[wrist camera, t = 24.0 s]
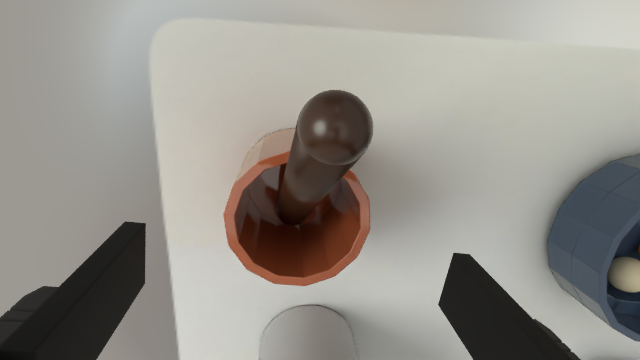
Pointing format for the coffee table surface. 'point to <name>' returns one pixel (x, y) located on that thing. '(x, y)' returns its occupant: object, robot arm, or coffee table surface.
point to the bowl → (600, 242)
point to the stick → (322, 151)
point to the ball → (625, 274)
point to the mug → (308, 336)
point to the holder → (292, 240)
